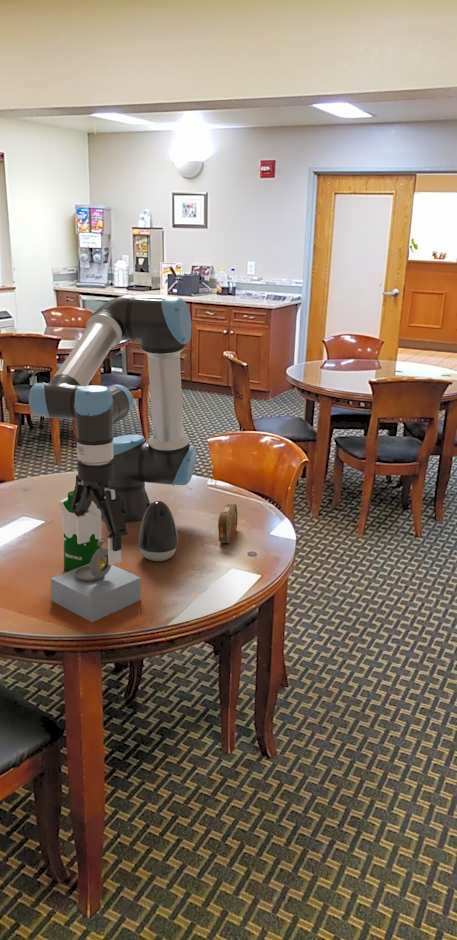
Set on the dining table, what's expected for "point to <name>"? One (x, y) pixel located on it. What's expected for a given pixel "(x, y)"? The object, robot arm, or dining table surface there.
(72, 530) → the milk carton
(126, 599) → the base block
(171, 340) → the robot arm
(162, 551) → the black glossy egg shape
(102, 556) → the pocket watch
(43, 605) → the dining table surface
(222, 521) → the tin
